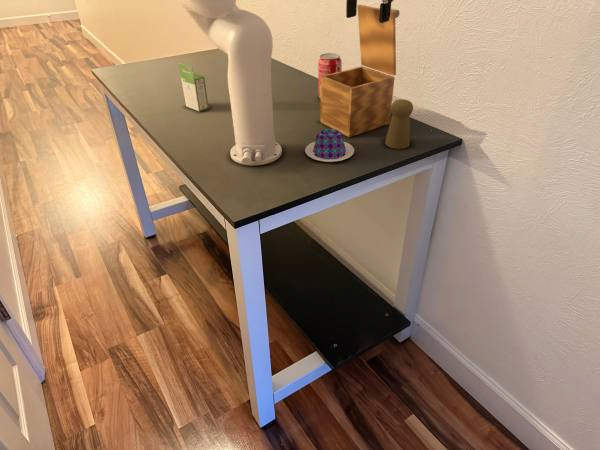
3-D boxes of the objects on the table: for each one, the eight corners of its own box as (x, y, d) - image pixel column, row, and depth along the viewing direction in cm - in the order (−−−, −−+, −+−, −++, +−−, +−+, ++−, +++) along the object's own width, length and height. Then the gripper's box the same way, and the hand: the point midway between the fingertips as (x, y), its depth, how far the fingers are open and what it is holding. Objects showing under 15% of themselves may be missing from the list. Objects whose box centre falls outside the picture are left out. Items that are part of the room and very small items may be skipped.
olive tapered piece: (413, 141, 106) (419, 99, 100) (404, 150, 102) (410, 107, 96) (390, 136, 109) (395, 95, 102) (381, 145, 105) (385, 102, 98)
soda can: (339, 102, 129) (340, 59, 122) (316, 101, 131) (316, 58, 123) (342, 95, 135) (343, 52, 127) (320, 93, 136) (320, 52, 128)
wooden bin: (349, 137, 109) (351, 88, 102) (320, 122, 118) (320, 76, 110) (389, 123, 116) (394, 77, 108) (359, 110, 124) (362, 66, 116)
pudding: (351, 141, 107) (352, 122, 104) (356, 163, 97) (357, 143, 94) (304, 142, 107) (304, 123, 104) (305, 165, 98) (305, 144, 94)
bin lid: (392, 12, 97) (411, 4, 99) (357, 5, 106) (374, -2, 108) (393, 75, 108) (410, 67, 110) (361, 64, 116) (377, 57, 118)
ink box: (209, 108, 128) (202, 63, 120) (199, 112, 126) (191, 66, 118) (196, 103, 132) (188, 59, 124) (185, 106, 129) (177, 62, 121)
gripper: (330, -68, 92) (329, 17, 102) (396, -68, 82) (388, 27, 92) (351, -70, 96) (348, 12, 106) (417, -70, 86) (407, 21, 96)
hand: (367, 19), depth 99 cm, fingers open, 9 cm apart
